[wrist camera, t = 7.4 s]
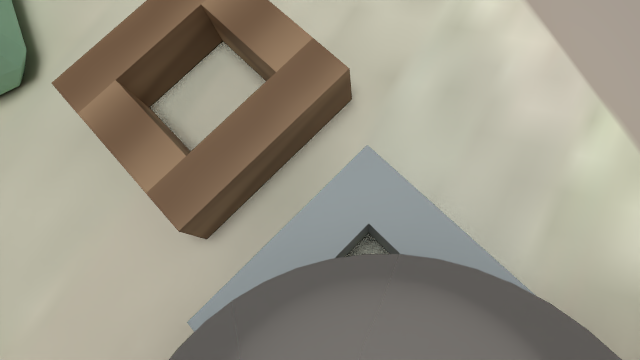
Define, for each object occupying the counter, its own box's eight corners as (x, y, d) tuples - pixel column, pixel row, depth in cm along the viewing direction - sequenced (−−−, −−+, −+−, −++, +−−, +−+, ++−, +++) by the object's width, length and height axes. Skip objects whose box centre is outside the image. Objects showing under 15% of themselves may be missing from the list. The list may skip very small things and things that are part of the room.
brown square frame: (351, 99, 20) (349, 68, 17) (206, 239, 19) (178, 231, 16) (226, -10, 23) (206, -52, 20) (92, 109, 22) (51, 83, 19)
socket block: (539, 322, 17) (575, 331, 14) (373, 508, 16) (375, 558, 13) (367, 165, 19) (367, 144, 17) (215, 316, 18) (186, 322, 16)
